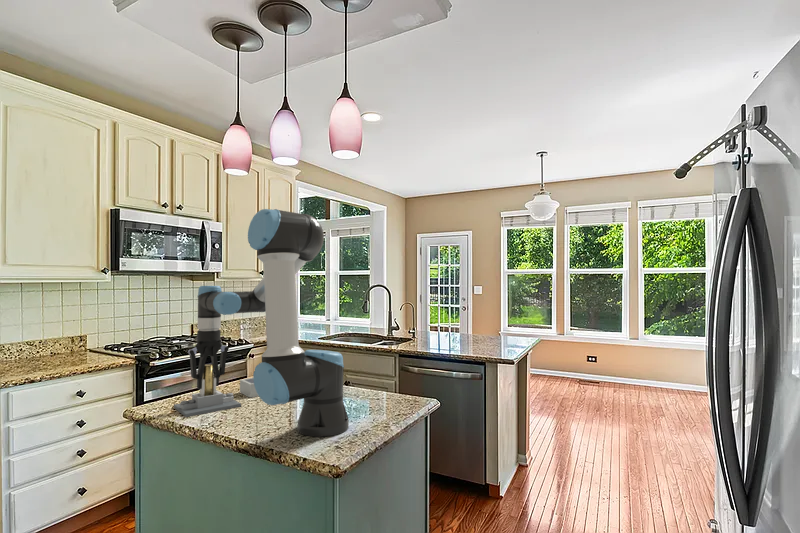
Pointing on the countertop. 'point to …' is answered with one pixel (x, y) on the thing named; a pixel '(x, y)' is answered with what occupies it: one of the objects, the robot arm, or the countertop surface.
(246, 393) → the tray
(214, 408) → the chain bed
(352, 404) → the countertop surface
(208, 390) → the pin
